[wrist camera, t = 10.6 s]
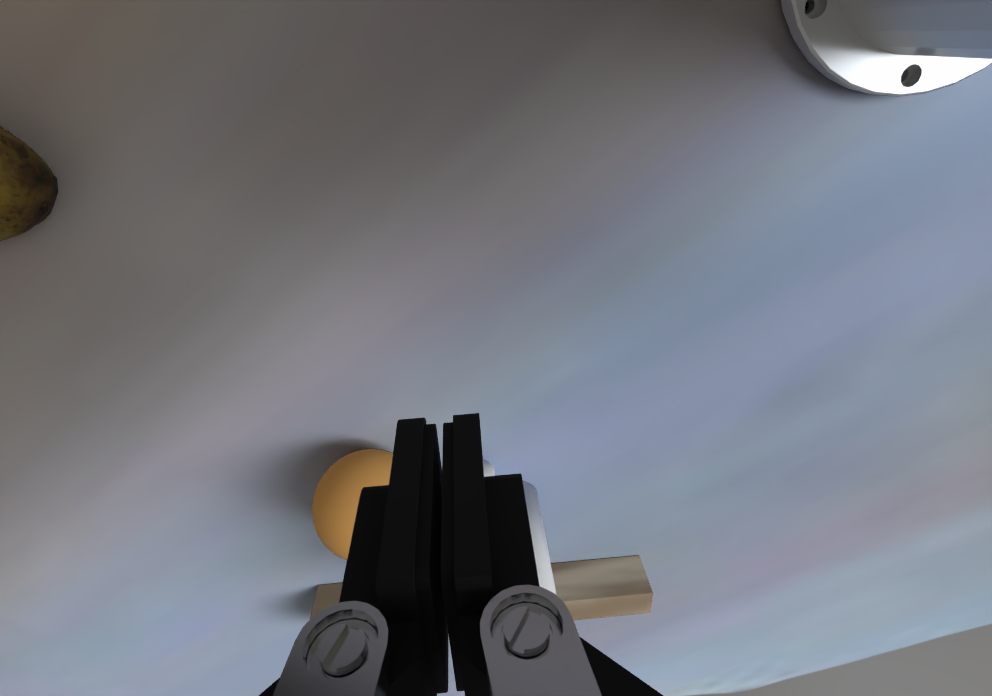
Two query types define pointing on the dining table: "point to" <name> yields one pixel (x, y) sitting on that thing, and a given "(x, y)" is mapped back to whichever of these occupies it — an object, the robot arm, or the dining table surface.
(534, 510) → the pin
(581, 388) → the dining table surface
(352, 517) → the ball
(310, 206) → the dining table surface
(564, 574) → the bar
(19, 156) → the potato
